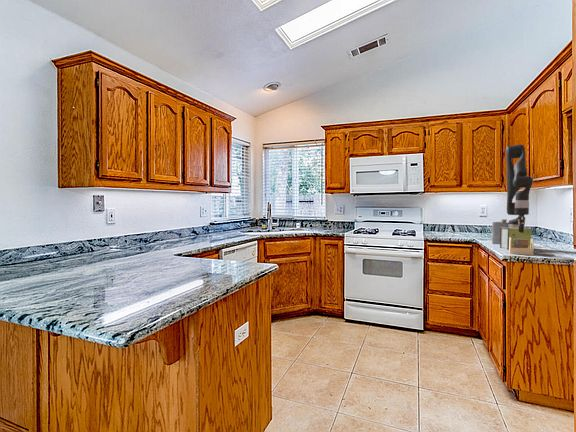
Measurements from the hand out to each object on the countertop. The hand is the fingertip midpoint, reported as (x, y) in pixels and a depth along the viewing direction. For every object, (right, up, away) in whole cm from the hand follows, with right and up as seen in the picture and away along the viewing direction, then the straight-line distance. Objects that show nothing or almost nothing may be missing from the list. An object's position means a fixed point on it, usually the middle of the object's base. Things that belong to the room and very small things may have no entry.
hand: (520, 232), depth 214 cm
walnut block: (0, -14, +1) cm, 14 cm away
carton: (0, -14, +1) cm, 14 cm away
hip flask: (+19, -12, +47) cm, 52 cm away
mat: (+11, -15, -6) cm, 19 cm away
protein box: (+9, -14, +19) cm, 25 cm away
